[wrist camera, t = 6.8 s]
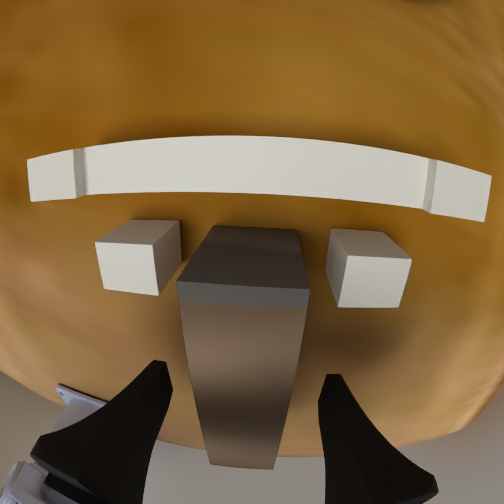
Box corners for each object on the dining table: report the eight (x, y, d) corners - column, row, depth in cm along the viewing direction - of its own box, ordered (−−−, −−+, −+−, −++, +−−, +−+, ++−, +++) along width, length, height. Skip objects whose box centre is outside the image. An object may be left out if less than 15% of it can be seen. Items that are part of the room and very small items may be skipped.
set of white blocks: (405, 273, 12) (449, 327, 8) (106, 256, 13) (54, 301, 9) (426, 160, 10) (491, 176, 6) (95, 148, 11) (27, 159, 6)
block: (274, 405, 16) (272, 469, 12) (222, 401, 16) (210, 464, 12) (295, 229, 12) (310, 289, 7) (213, 225, 12) (176, 281, 7)
